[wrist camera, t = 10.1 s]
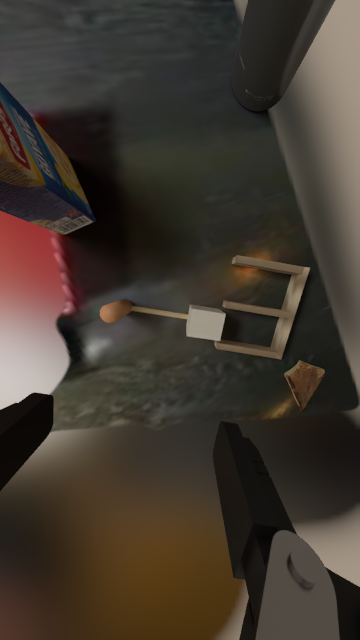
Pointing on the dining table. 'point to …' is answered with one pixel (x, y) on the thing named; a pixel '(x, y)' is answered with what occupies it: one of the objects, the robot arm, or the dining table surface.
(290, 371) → the shard
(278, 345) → the birch lanes
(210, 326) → the corded block
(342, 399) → the dining table surface
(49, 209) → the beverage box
